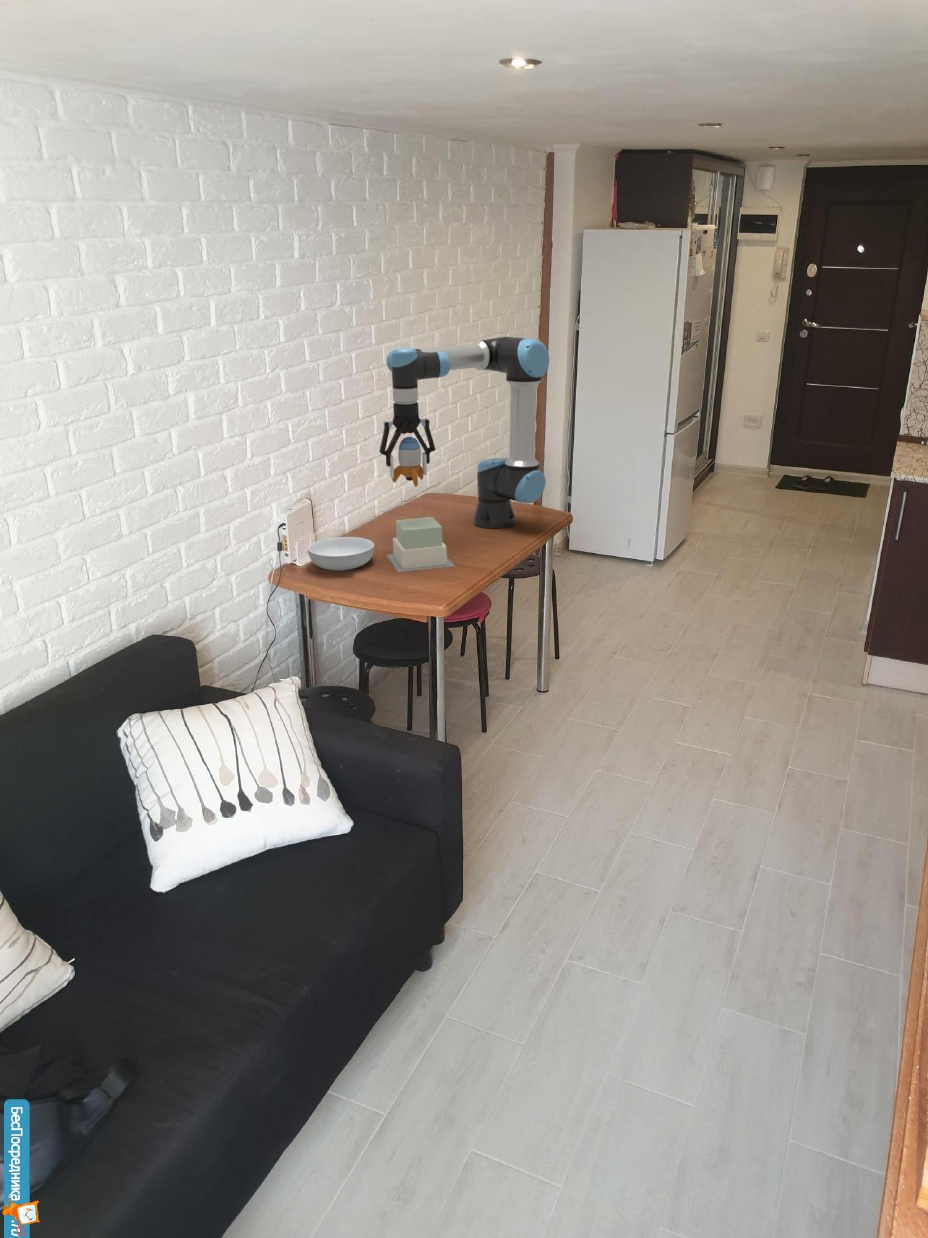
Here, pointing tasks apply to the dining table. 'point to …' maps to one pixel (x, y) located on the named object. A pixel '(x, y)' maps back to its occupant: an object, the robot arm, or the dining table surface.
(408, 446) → the toy rocket
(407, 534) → the upper brick
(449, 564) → the base plate
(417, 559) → the lower brick
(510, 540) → the dining table surface
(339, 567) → the serving bowl
